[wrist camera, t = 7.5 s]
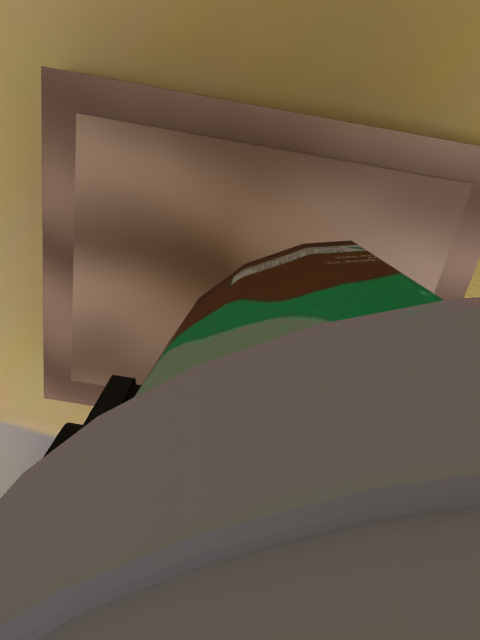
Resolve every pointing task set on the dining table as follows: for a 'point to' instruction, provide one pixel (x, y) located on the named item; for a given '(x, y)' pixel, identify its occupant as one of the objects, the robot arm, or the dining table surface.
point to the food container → (269, 473)
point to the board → (218, 211)
